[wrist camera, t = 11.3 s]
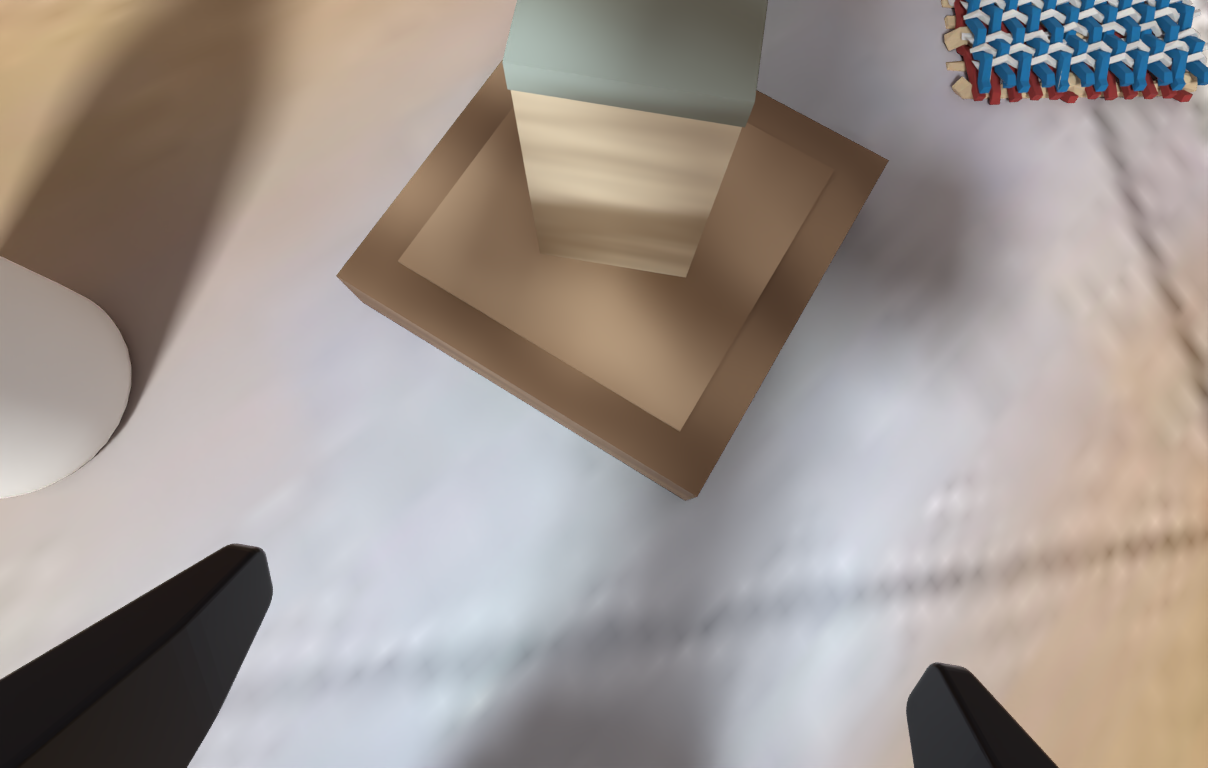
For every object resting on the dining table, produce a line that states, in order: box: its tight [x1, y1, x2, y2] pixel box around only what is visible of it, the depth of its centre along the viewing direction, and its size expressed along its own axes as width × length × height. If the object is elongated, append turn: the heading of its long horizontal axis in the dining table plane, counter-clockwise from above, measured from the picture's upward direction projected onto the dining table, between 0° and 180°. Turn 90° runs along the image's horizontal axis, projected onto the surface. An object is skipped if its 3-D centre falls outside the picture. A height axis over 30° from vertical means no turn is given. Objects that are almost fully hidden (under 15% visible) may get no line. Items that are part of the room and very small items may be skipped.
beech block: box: [502, 0, 768, 278], centre depth 17 cm, size 4×5×9 cm
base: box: [336, 60, 889, 501], centre depth 23 cm, size 14×14×3 cm
